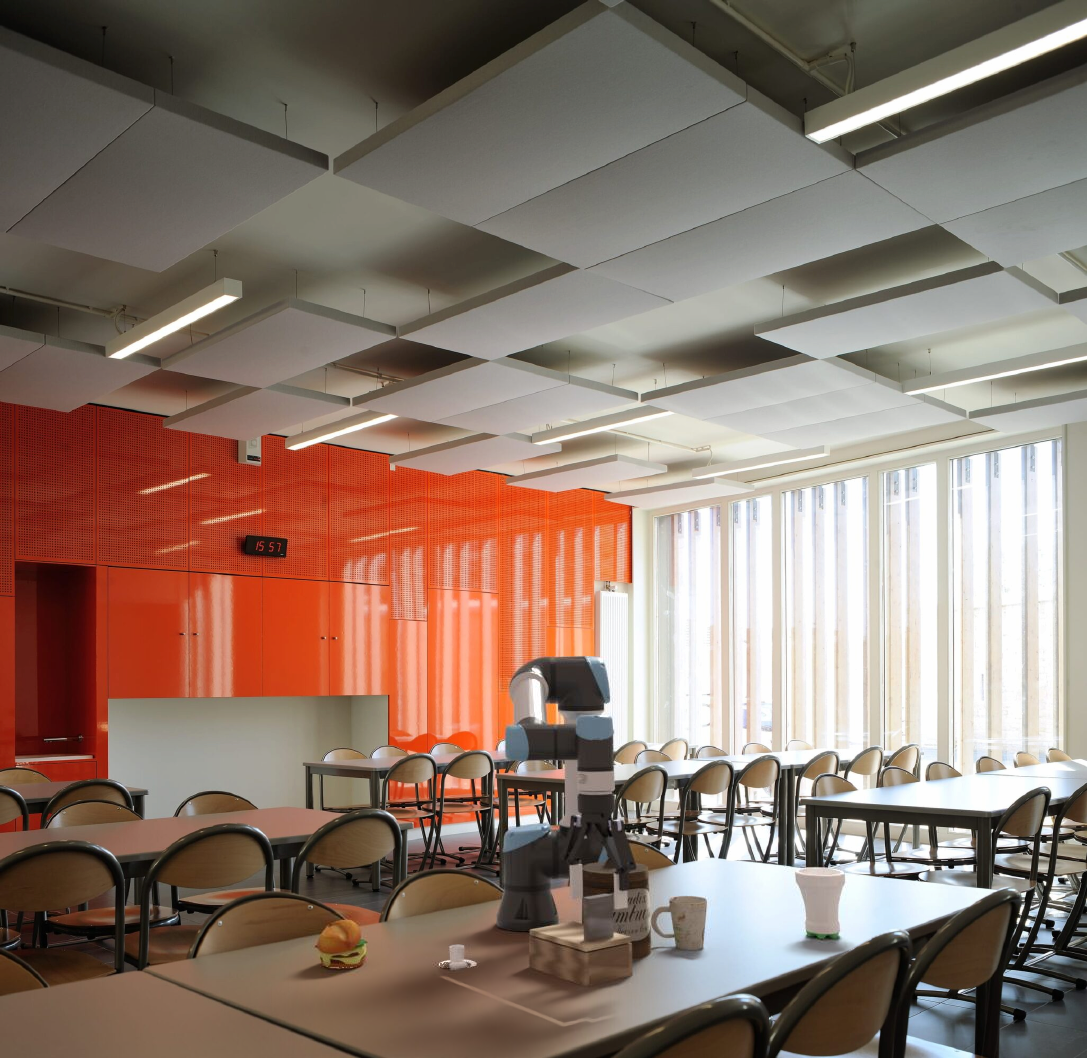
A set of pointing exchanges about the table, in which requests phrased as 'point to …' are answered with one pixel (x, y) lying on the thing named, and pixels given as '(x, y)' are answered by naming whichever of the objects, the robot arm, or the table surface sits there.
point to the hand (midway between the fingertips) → (598, 903)
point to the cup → (821, 899)
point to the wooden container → (638, 912)
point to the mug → (684, 921)
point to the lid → (587, 927)
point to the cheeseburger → (341, 945)
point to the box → (580, 961)
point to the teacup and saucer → (458, 958)
